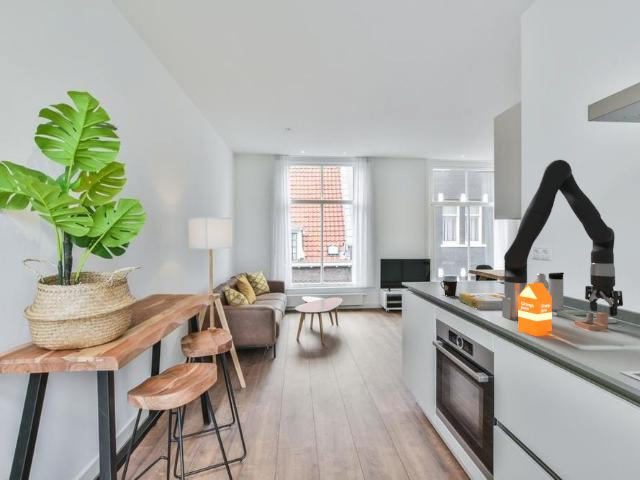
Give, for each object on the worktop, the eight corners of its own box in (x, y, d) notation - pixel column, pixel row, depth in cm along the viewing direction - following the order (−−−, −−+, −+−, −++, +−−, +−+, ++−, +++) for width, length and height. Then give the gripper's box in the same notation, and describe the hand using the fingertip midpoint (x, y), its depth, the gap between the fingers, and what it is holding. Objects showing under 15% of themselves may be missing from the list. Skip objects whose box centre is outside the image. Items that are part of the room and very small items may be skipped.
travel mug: (566, 312, 157) (566, 273, 157) (552, 311, 158) (552, 273, 158) (559, 309, 163) (559, 271, 163) (545, 308, 164) (545, 271, 164)
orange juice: (517, 330, 127) (518, 282, 127) (532, 328, 130) (532, 281, 130) (537, 336, 119) (537, 285, 119) (552, 333, 123) (552, 283, 122)
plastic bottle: (550, 313, 155) (550, 273, 155) (548, 315, 150) (548, 275, 150) (534, 311, 159) (534, 272, 159) (532, 313, 154) (532, 274, 154)
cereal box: (458, 292, 184) (504, 292, 185) (458, 301, 184) (503, 301, 185) (477, 300, 164) (528, 299, 165) (477, 310, 164) (528, 309, 165)
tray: (582, 325, 133) (582, 318, 133) (556, 316, 148) (556, 310, 148) (616, 325, 133) (616, 318, 133) (587, 316, 148) (587, 310, 148)
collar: (588, 330, 123) (588, 315, 123) (574, 325, 130) (574, 311, 130) (613, 330, 123) (613, 315, 123) (598, 325, 130) (598, 310, 130)
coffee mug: (459, 296, 198) (459, 281, 198) (446, 297, 198) (446, 281, 198) (452, 293, 209) (452, 279, 209) (439, 293, 210) (439, 279, 209)
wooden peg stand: (588, 334, 122) (588, 316, 122) (567, 326, 132) (568, 310, 132) (613, 334, 122) (613, 316, 121) (591, 326, 132) (591, 310, 131)
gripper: (578, 272, 134) (579, 309, 134) (609, 276, 119) (610, 318, 119) (595, 272, 134) (596, 309, 134) (628, 276, 119) (629, 317, 119)
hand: (603, 313), depth 126 cm, fingers open, 8 cm apart
